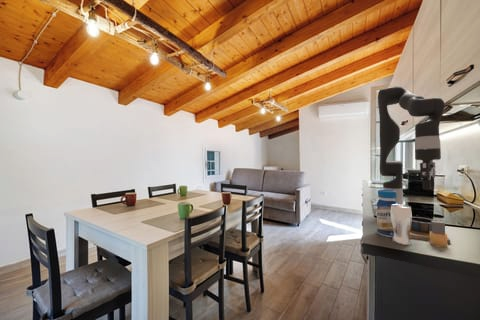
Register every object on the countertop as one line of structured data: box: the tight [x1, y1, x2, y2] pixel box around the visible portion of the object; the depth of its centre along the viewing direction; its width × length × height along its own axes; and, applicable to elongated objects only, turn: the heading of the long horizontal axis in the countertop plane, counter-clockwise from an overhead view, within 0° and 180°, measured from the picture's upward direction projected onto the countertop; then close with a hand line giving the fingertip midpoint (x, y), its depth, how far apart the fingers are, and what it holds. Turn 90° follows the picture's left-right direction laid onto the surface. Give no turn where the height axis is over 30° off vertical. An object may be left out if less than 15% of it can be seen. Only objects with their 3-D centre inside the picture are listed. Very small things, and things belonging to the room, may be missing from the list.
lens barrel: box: [410, 216, 436, 234], centre depth 92 cm, size 10×10×4 cm
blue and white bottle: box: [375, 189, 398, 238], centre depth 91 cm, size 8×8×20 cm
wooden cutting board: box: [410, 230, 451, 245], centre depth 92 cm, size 20×14×2 cm
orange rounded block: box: [429, 220, 448, 248], centre depth 79 cm, size 5×5×9 cm
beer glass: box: [390, 204, 413, 246], centre depth 82 cm, size 7×7×15 cm
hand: (428, 188), depth 80 cm, fingers open, 8 cm apart
